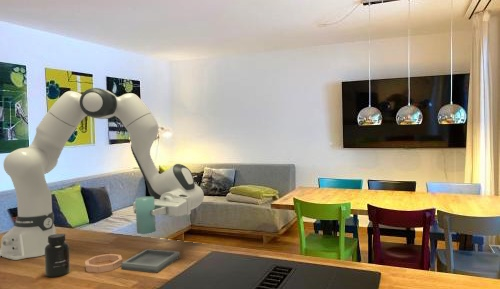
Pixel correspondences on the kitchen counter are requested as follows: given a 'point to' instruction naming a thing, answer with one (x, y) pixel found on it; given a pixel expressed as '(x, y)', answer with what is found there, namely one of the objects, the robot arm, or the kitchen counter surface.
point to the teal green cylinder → (145, 215)
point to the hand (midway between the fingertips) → (143, 212)
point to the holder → (105, 267)
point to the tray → (150, 260)
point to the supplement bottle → (57, 256)
